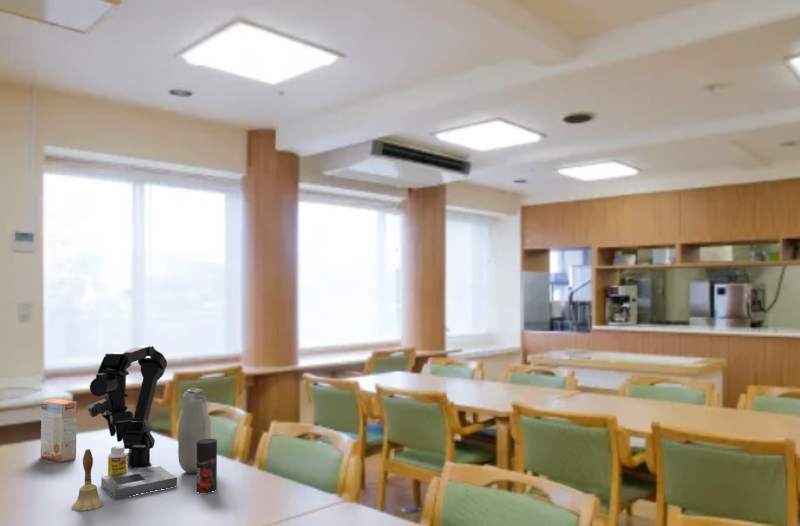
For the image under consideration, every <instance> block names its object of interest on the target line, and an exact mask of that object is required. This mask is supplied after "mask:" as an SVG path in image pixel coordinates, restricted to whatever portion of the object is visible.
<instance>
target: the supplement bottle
mask: <svg viewBox="0 0 800 526" xmlns="http://www.w3.org/2000/svg"><path fill="white" fill-rule="evenodd" d="M125 450H126V449H125V448H124V445H116V446H112V447H111V448H110V452H111V453H109V454H108V456H107V457H108V458H107V459H108V460H107V464H108V465H107V476H109V475H114V474H119V473H125V472H128V470H127V467H128V465H127V453H128V452H126V451H125Z"/></svg>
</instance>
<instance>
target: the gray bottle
mask: <svg viewBox="0 0 800 526" xmlns="http://www.w3.org/2000/svg"><path fill="white" fill-rule="evenodd" d="M211 426H212V425H211V418H210V414H209V411H208V406H207V395H206V393H205V391H204V390H203V389H201V388H196V387H192V388H188V389H187V390H185V391H184V393H183V395H182V405H181V412H180V416H179V420H178V425H177V444H178V448H177V449H178V450H177V451H178V452H177V454H178V456H177V457H178V464H179V466H180V468H181V469H182V470H183V471H184V472H186V473H189V474H197V441H198V440H202V439H212V438H211V435H212V430H211V429H212V427H211Z"/></svg>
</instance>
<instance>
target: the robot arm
mask: <svg viewBox="0 0 800 526" xmlns="http://www.w3.org/2000/svg"><path fill="white" fill-rule="evenodd" d="M135 362H137V363H138V365H139V366H140V371H139V372H140V374H141V377H142V381H141V386H140V389H139V395H138V397H137V402H136V406H135V410H134V413H133V412H132V411H131V410H129V409H128V406H127V405H126V403H127V397H128V393H127V375H129V374H130V373H129V371H127V369H129V368H130V367H132V363H135ZM167 367H168V360H167V359H166V358H165V356H164V354H163V353H161V352H159V351H158V350H157V349H155V347H154V346H153V345H151V344H146V345H145V344H140V345H138V346H136V347H134V348H130V349H127V350H125V351H122V352H121V351H117V352H116V351H115V352H114V351H110V352H109V351H108V352H106V353H105V354H104V356H103V358H102V361H101V363H100V365H99V368H98V370H97V372H96V374H95V378H94V379H93V380H91V382H90V384H89V390H90V392H91V394H92V395H93V396H95V397H102V396H103V397H104V398H103V399H101V400H98V401H95V402H93V403H91V404H89V405H87V406H86V408H87V411H88V414H89V416H90V417H91V418H95V417H97V416H98V415H100V416H102V417H103V418H104V419H105V421H106V423H107V427H108V431H109V435H110V436H111V437H115V435H116V441H117V442H118V443H120V442H122V444H123V446H124V449H125V450H128V452H126V453H127V467H129V468H130V469H133V468H134V469H138V468H139V467H140V468H145V467H150V466H152V462H150V461H151V459H150V458H151V457H150V456H151V449H153V448H154V446H155V438H154V436H153V435H152V433H151V430H152V429H151V425H150V423H149V417H150V414H151V409H152V404H153V400H154V396H155V393H156V388H157V387H156V386H157V384H158V381H159V380H160V379H161V378H162V377H163V376H164V373H165V371H166V368H167ZM149 465H150V466H149ZM144 466H145V467H144ZM134 469H133V470H134Z"/></svg>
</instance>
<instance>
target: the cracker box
mask: <svg viewBox="0 0 800 526" xmlns="http://www.w3.org/2000/svg"><path fill="white" fill-rule="evenodd" d="M77 414H78V401H73V400H67V399H59V398H52V399H46V400H45V399H43V400H41V420H40V421H41V422H40V424H41V425H40V427H41V429H40V458H42V457H44V458H43V459H46V458H47V460H50V461H55V462H59V463H64V462H68V461H73V460H76V459H77V429H78V428H77V427H78V425H77V421H78V419H77V418H78V417H77V416H78V415H77Z"/></svg>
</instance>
